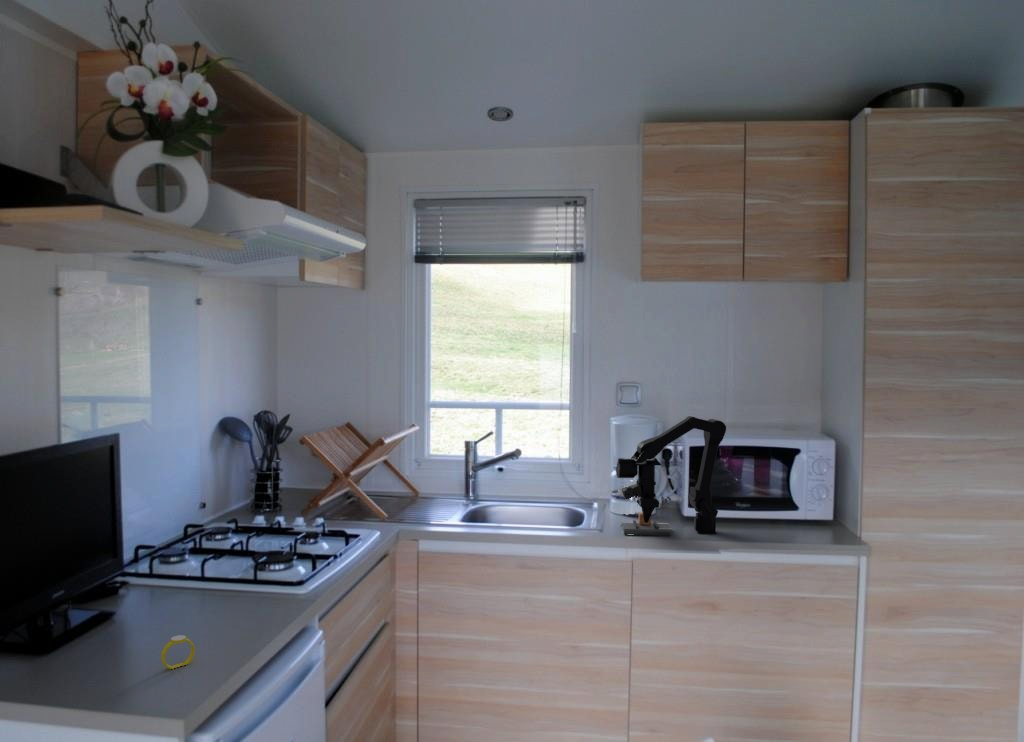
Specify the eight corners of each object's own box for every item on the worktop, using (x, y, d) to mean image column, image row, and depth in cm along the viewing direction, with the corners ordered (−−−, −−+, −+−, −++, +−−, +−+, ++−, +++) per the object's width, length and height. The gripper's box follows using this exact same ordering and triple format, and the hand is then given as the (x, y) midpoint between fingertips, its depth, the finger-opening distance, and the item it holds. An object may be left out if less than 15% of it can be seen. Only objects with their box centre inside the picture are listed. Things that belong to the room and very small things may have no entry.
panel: (668, 529, 246) (668, 520, 246) (672, 535, 238) (672, 526, 238) (621, 528, 247) (621, 520, 246) (623, 534, 239) (624, 525, 238)
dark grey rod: (669, 535, 238) (669, 531, 238) (670, 536, 236) (670, 532, 236) (623, 534, 238) (623, 531, 238) (624, 535, 237) (624, 532, 237)
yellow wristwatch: (190, 661, 141) (192, 632, 141) (195, 666, 139) (197, 636, 139) (159, 668, 137) (161, 638, 137) (163, 673, 135) (165, 642, 135)
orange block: (649, 522, 246) (650, 512, 246) (650, 524, 243) (651, 514, 243) (638, 522, 246) (638, 512, 246) (639, 524, 244) (639, 514, 243)
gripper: (620, 472, 251) (620, 515, 251) (626, 482, 232) (625, 528, 232) (651, 473, 250) (651, 516, 250) (659, 483, 231) (659, 529, 232)
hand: (646, 522), depth 241 cm, fingers closed
